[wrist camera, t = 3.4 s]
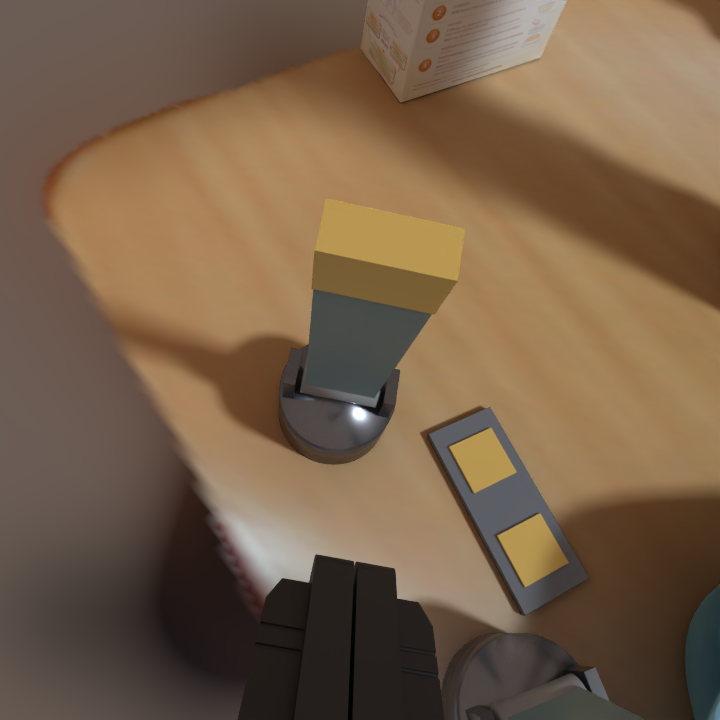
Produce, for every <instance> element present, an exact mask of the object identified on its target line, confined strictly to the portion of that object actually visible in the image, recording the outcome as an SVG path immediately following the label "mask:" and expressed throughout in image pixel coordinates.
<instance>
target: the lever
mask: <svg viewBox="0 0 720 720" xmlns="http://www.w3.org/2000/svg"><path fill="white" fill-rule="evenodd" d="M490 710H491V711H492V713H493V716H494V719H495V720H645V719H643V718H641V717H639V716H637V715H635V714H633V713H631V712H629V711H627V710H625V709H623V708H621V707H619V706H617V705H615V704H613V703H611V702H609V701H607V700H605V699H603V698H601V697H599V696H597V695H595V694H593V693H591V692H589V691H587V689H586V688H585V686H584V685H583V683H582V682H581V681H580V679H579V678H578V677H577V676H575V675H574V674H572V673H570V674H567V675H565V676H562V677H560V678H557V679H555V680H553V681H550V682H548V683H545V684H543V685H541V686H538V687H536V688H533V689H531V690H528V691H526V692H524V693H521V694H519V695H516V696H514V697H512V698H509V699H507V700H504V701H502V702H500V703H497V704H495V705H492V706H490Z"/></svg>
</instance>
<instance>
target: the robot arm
mask: <svg viewBox="0 0 720 720" xmlns="http://www.w3.org/2000/svg"><path fill="white" fill-rule="evenodd" d="M435 653H436V650H435V642H434V634H433V626H432V625H431V623H430V621H429V619H428V618H427V616H426V614H425V613H424V611H423V609H422V607H421V606H420V604H419V602H413V601H407V600H402V599H397V589H396V573H395V569H394V568H389V567H383V566H378V565H372V564H367V563H361V562H356V563H355V565H354V561H350V560H344V559H339V558H333V557H328V556H322V555H317V554H316V555H315V558H314V563H313V567H312V572H311V576H310V581H309V583H306V582H301V581H295V580H290V579H284V578H282V579H281V580H280V582H279V583H278V584H277V585H276V586H275V587H274V589H273V590H272V591H271V592H270V593H269V594H268V595H267V597H266V600H265V604H264V608H263V613H262V617H261V621H260V626H259V630H258V634H257V639H256V643H255V647H254V651H253V656H252V660H251V665H250V669H249V673H248V677H247V682H246V686H245V690H244V695H243V699H242V703H241V707H240V712H239V716H238V720H444V713H443V705H442V697H441V690H440V682H439V679H438V666H437V658H436V657H435Z"/></svg>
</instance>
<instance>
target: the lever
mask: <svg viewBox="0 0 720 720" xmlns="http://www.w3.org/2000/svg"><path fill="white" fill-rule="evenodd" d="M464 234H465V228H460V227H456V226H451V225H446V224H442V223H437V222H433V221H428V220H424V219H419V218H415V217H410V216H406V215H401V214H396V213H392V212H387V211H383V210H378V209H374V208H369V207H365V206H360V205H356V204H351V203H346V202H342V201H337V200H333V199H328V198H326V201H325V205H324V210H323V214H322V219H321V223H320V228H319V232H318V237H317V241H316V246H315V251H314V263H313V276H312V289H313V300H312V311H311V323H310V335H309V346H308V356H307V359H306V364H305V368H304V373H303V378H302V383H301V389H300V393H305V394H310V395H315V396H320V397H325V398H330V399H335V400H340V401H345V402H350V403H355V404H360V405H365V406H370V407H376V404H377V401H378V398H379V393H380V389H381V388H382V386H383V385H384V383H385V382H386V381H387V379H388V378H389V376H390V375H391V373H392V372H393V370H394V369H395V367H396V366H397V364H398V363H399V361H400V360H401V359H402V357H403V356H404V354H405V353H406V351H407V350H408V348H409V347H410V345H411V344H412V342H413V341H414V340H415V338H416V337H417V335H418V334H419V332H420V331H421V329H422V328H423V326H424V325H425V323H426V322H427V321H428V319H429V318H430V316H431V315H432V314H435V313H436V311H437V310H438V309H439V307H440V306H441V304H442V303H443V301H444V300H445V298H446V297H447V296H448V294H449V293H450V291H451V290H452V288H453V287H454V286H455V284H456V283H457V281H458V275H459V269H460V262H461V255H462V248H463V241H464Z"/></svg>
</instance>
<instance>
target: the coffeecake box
mask: <svg viewBox="0 0 720 720" xmlns="http://www.w3.org/2000/svg"><path fill="white" fill-rule="evenodd" d="M566 2H567V0H368V2H367V8H366V14H365V20H364V28H363V35H362V42H361V47H360V49H361V50H362V52H363V53H364V55H365V56H366V57H367V59H368V60H369V61H370V63H371V64H372V65H373V66H374V67H375V69H376V70H377V71H378V72H379V73H380V74H381V76H382V77H383V79H384V81H385V82H386V84H387V85H388V87H389V88H390V89H391V91H392V92H393V94H394V95H395V96H396V98H397V99H398V100H399V102H401V103H402V102H405V101H408V100H411V99H414V98H417V97H420V96H423V95H426V94H430V93H433V92H436V91H439V90H442V89H445V88H448V87H451V86H455V85H458V84H461V83H464V82H467V81H470V80H473V79H476V78H479V77H483V76H486V75H489V74H492V73H495V72H498V71H502V70H504V69H507V68H511V67H514V66H517V65H520V64H523V63H526V62H529V61H533V60H536V59H539V58H541V57H542V54H543V52H544V50H545V47H546V45H547V43H548V41H549V39H550V36H551V34H552V32H553V30H554V28H555V26H556V23H557V21H558V19H559V17H560V15H561V13H562V10H563V8H564V6H565V4H566Z"/></svg>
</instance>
